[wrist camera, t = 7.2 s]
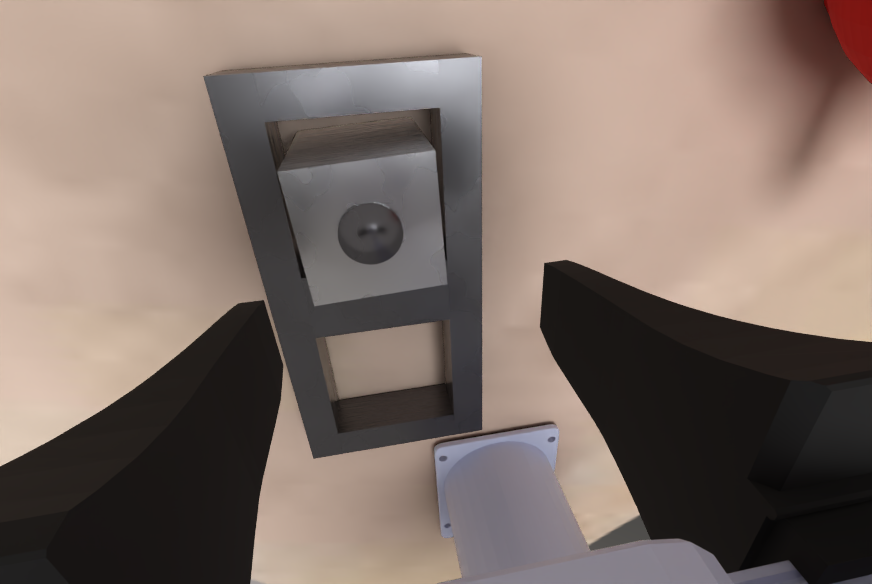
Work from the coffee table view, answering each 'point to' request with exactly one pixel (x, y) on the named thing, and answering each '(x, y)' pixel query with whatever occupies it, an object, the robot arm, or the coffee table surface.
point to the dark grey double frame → (309, 325)
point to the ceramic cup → (853, 31)
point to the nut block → (365, 209)
